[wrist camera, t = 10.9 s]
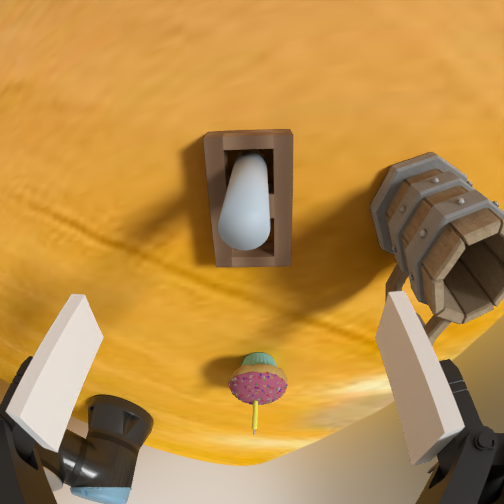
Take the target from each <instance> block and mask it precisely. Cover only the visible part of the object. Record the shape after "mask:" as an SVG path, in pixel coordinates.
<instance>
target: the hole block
mask: <svg viewBox="0 0 504 504" xmlns="http://www.w3.org/2000/svg"><path fill="white" fill-rule="evenodd" d="M203 141H204V152H205V164H206V175H207V185H208V195H209V205H210V215H211V224H212V233H213V242H214V251H215V260H216V267H275V266H291V240H292V199H293V134H292V132H291V130H290V129H268V130H235V131H216V132H208V133H207V134H206V135H205V137H204V138H203ZM240 149H273V184H268V194H269V213H270V218H273V239H274V242H264V243H263V244H262V245H261V246H259V247H257V248H255V249H252V250H238V249H234V248H232V247H230V246H229V245H227V244H226V243H225V242H224V241H223V240H222V238H221V237H220V235H219V231H218V222H219V218H220V215H221V211H222V207H223V203H224V199H225V196H226V192H227V188H228V185H229V169H228V154H227V150H240Z"/></svg>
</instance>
